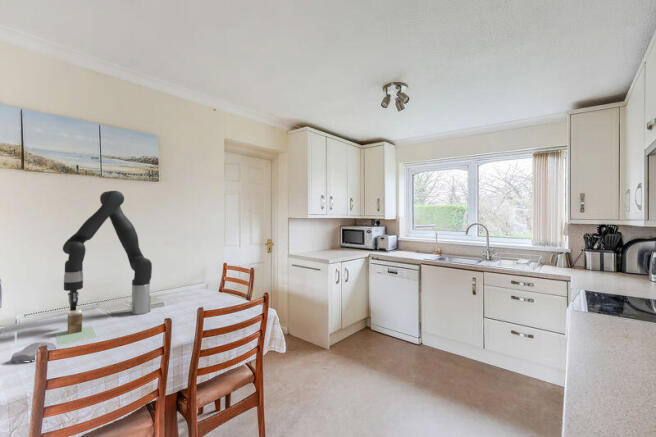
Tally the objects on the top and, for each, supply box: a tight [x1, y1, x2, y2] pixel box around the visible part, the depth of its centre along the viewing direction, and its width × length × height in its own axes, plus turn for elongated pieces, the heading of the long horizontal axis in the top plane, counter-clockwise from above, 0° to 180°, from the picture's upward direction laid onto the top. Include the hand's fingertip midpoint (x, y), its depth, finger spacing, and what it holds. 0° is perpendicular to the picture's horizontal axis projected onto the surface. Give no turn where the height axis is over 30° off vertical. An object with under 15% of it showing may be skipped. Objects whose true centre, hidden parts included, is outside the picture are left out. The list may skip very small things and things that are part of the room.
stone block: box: [10, 341, 57, 364], centre depth 126 cm, size 12×5×10 cm
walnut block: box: [67, 309, 83, 334], centre depth 149 cm, size 5×5×10 cm
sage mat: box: [54, 325, 98, 346], centre depth 146 cm, size 14×18×1 cm
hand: (73, 313), depth 154 cm, fingers closed
